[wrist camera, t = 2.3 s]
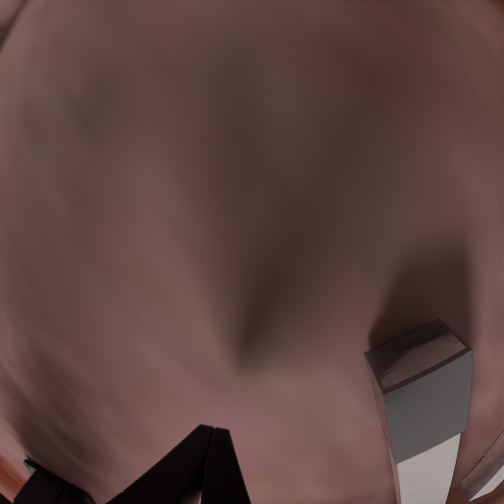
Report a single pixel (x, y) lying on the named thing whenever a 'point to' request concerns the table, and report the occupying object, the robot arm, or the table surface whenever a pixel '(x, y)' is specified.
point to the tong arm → (422, 407)
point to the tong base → (486, 472)
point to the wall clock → (4, 500)
